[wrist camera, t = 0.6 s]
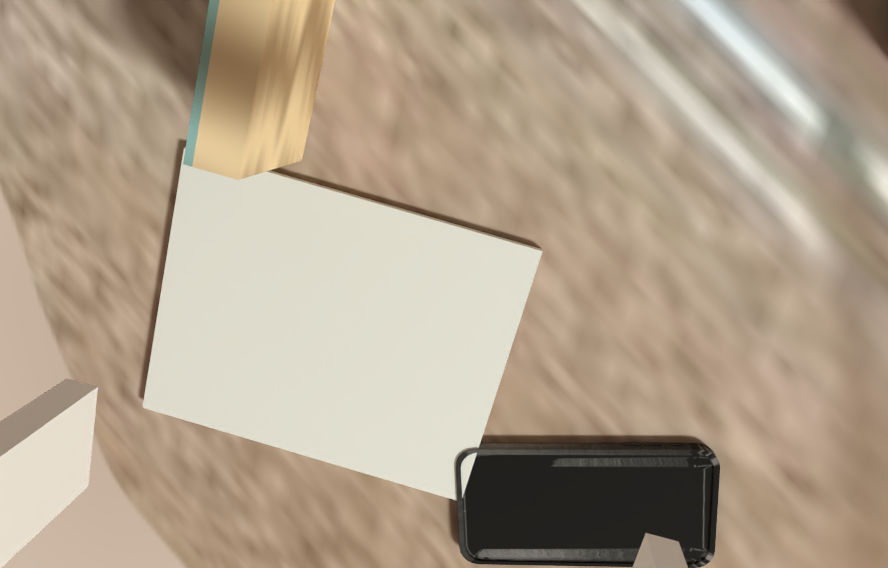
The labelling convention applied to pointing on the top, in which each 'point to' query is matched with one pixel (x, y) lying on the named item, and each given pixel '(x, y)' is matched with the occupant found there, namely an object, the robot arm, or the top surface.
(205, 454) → the top surface
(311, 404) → the mat
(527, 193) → the top surface
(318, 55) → the tile
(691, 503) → the phone
